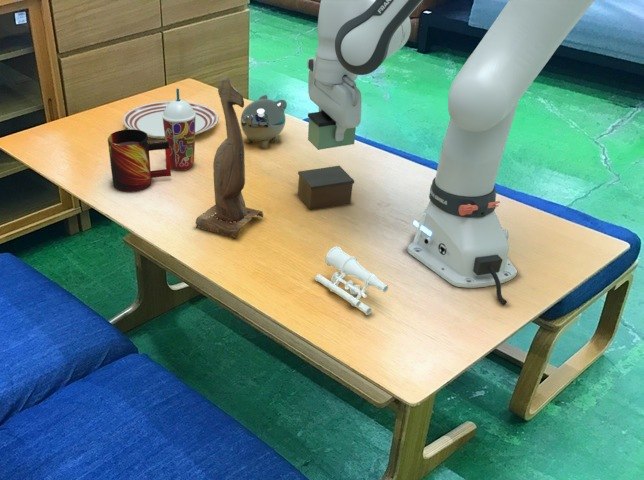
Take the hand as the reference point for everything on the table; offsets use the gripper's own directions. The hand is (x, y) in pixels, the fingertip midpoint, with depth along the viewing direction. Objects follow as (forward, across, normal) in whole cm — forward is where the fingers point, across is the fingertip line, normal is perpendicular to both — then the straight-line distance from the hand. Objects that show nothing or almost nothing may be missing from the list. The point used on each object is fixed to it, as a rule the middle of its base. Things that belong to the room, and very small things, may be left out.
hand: (331, 133), depth 149 cm
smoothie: (+16, +29, +28) cm, 43 cm away
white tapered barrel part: (+17, -36, +10) cm, 42 cm away
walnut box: (+16, 0, 0) cm, 16 cm away
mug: (+15, +24, +40) cm, 49 cm away
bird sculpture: (+16, -4, +25) cm, 30 cm away
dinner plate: (+15, +54, +25) cm, 62 cm away
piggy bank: (+16, +36, +3) cm, 40 cm away
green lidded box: (+2, 0, 0) cm, 2 cm away
